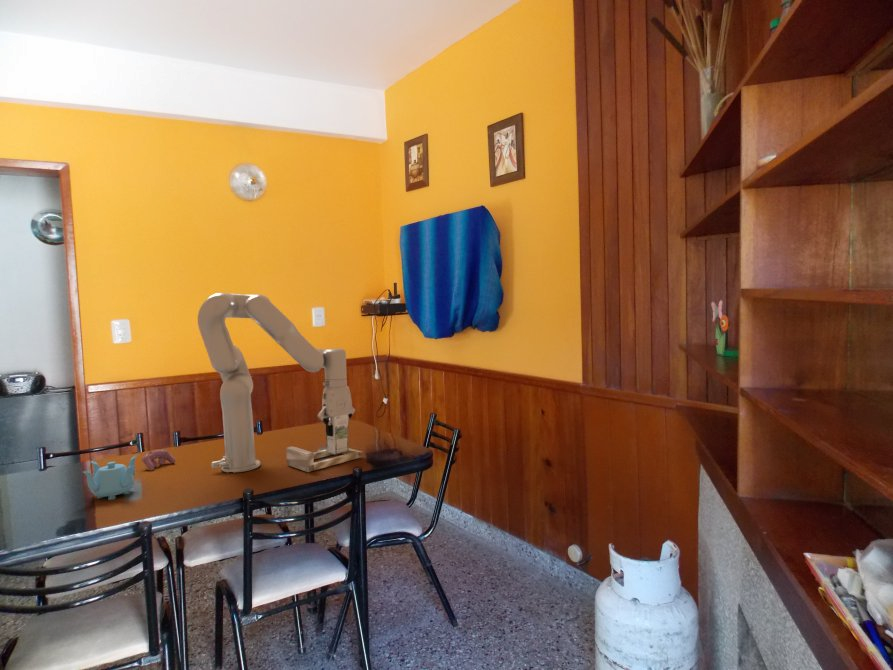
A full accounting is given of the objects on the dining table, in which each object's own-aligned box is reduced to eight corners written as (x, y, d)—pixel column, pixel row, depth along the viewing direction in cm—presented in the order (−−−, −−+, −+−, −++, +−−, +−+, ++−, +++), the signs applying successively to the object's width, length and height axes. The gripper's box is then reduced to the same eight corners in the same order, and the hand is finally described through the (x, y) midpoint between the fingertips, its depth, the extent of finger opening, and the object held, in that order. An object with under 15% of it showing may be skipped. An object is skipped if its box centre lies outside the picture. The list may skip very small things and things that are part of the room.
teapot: (94, 492, 176) (91, 460, 175) (142, 485, 181) (139, 454, 180) (84, 505, 164) (81, 471, 163) (136, 498, 169) (133, 464, 168)
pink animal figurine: (170, 466, 207) (163, 448, 208) (177, 462, 205) (170, 444, 206) (145, 474, 198) (137, 456, 199) (152, 470, 196) (144, 451, 197)
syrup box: (339, 448, 208) (338, 409, 207) (349, 451, 203) (347, 411, 202) (326, 452, 203) (324, 411, 202) (335, 455, 199) (334, 414, 198)
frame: (307, 472, 187) (306, 454, 186) (287, 465, 196) (286, 447, 195) (362, 456, 202) (361, 440, 202) (340, 451, 211) (339, 435, 211)
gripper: (320, 387, 193) (322, 440, 194) (362, 381, 205) (363, 431, 206) (308, 385, 198) (310, 436, 199) (349, 380, 210) (351, 428, 212)
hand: (337, 433), depth 203 cm, fingers closed on syrup box, 5 cm apart
